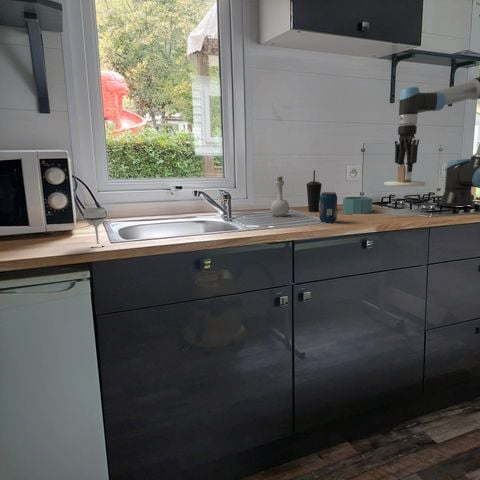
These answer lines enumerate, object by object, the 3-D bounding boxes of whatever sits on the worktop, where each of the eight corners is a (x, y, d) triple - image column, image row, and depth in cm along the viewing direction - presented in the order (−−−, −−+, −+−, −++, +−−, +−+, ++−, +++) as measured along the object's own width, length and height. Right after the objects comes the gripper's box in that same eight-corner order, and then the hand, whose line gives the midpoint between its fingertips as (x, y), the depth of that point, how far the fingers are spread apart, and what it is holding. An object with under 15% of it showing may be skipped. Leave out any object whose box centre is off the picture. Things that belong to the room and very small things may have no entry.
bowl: (361, 210, 190) (362, 196, 188) (377, 213, 177) (378, 198, 176) (337, 212, 186) (338, 197, 185) (352, 215, 174) (352, 200, 173)
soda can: (318, 220, 164) (319, 192, 161) (335, 220, 163) (336, 191, 160) (320, 223, 157) (321, 193, 154) (337, 223, 156) (338, 193, 154)
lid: (407, 183, 184) (408, 165, 183) (433, 185, 168) (435, 166, 166) (376, 184, 180) (377, 166, 178) (400, 187, 164) (401, 167, 162)
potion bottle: (277, 217, 174) (277, 177, 170) (266, 215, 181) (266, 176, 177) (293, 215, 178) (293, 176, 174) (281, 213, 185) (281, 175, 182)
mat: (405, 210, 188) (405, 208, 187) (432, 214, 171) (432, 213, 170) (373, 212, 183) (373, 210, 183) (397, 217, 166) (397, 216, 166)
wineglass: (111, 243, 128) (107, 207, 125) (107, 248, 121) (103, 210, 119) (89, 244, 127) (85, 208, 125) (84, 249, 120) (80, 211, 118)
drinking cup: (317, 213, 185) (318, 170, 181) (303, 211, 190) (303, 170, 185) (324, 211, 191) (325, 170, 187) (310, 210, 196) (310, 170, 191)
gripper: (387, 127, 176) (385, 178, 181) (413, 123, 160) (410, 180, 165) (402, 126, 178) (399, 178, 183) (428, 123, 162) (425, 179, 166)
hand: (404, 179), depth 174 cm, fingers closed on lid, 4 cm apart
